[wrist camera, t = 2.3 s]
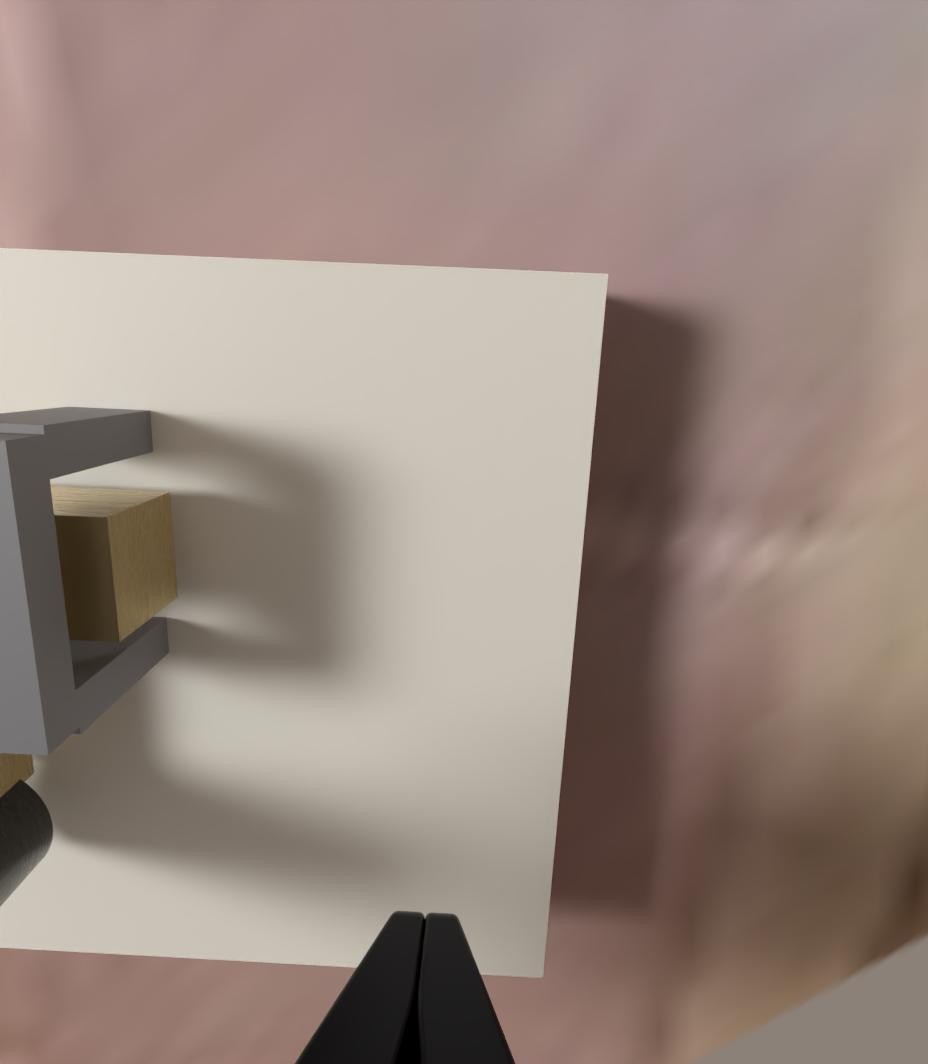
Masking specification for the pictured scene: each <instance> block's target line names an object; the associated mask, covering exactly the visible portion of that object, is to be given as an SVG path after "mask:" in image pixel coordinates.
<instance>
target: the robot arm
mask: <svg viewBox="0 0 928 1064" xmlns="http://www.w3.org/2000/svg"><path fill="white" fill-rule="evenodd" d="M295 1064H515V1062H514V1059H513V1057H512V1054H511V1051H510V1049H509V1046H508V1044H507V1041H506V1039H505V1036H504V1033H503V1031H502V1028H501V1026H500V1023H499V1021H498V1018H497V1016H496V1013H495V1010H494V1008H493V1005H492V1003H491V1000H490V998H489V995H488V992H487V990H486V987H485V985H484V982H483V980H482V977H481V974H480V972H479V969H478V967H477V964H476V962H475V959H474V956H473V954H472V951H471V949H470V946H469V944H468V941H467V939H466V936H465V933H464V931H463V928H462V926H461V923H460V921H459V919H458V917H457V916H456V915H455V914H449V913H432V912H431V913H428V914H427V915H426V917H424V914H423V913H421V912H413V911H395V912H394V913H393V914H392V915H391V916H390V917H389V919H388V920H387V922H386V923H385V925H384V927H383V928H382V930H381V931H380V933H379V934H378V936H377V937H376V939H375V940H374V942H373V944H372V945H371V947H370V948H369V950H368V951H367V953H366V954H365V956H364V957H363V959H362V961H361V962H360V964H359V965H358V967H357V968H356V970H355V971H354V973H353V974H352V976H351V978H350V979H349V981H348V982H347V984H346V985H345V987H344V988H343V990H342V991H341V993H340V995H339V996H338V998H337V999H336V1001H335V1002H334V1004H333V1005H332V1007H331V1008H330V1010H329V1012H328V1013H327V1015H326V1016H325V1018H324V1019H323V1021H322V1022H321V1024H320V1025H319V1027H318V1029H317V1030H316V1032H315V1033H314V1035H313V1036H312V1038H311V1039H310V1041H309V1042H308V1044H307V1046H306V1047H305V1049H304V1050H303V1052H302V1053H301V1055H300V1056H299V1058H298V1059H297V1061H296V1063H295Z"/></svg>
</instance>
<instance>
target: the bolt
mask: <svg viewBox="0 0 928 1064" xmlns="http://www.w3.org/2000/svg"><path fill="white" fill-rule="evenodd" d="M51 493H52V502H53V510H54V518H55V526H56V535H57V543H58V551H59V559H60V568H61V576H62V584H63V593H64V601H65V609H66V617H67V626H68V634H69V640H87V641H107V642H121V641H122V640H123V639H124V638H126V637H127V636H128V635H130V634H131V633H132V632H134V631H135V630H136V629H137V628H139V627H140V626H141V625H143V624H144V623H145V622H147V621H148V620H149V619H150V618H152V617H153V616H154V615H156V614H157V613H158V612H159V611H161V610H162V609H163V608H165V607H166V606H167V605H169V604H170V603H171V602H172V601H174V600H175V599H176V598H178V592H177V579H176V565H175V552H174V538H173V524H172V511H171V497H170V492H164V491H143V490H122V489H101V488H79V487H58V486H51ZM33 774H34V766H33V759H32V755H28V754H9V753H0V907H1V905H2V904H3V903H4V902H5V901H6V900H7V899H8V898H9V896H10V895H11V894H12V893H13V892H14V891H15V890H16V888H17V887H18V886H19V885H20V884H21V883H22V882H23V881H24V879H25V878H26V877H27V876H28V875H29V874H30V873H31V872H32V870H33V869H34V868H35V867H36V866H37V865H38V864H39V862H40V861H41V860H42V859H43V858H44V857H45V855H46V854H47V852H48V850H49V848H50V846H51V843H52V839H53V824H52V820H51V816H50V813H49V811H48V809H47V807H46V805H45V803H44V802H43V800H42V799H41V797H40V796H39V795H38V794H37V793H36V792H35V790H33V789H32V788H31V787H30V786H29V785H28V784H27V783H25V781H26V780H27V779H28V778H29V777H31V776H32V775H33Z"/></svg>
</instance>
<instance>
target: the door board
mask: <svg viewBox="0 0 928 1064" xmlns="http://www.w3.org/2000/svg"><path fill="white" fill-rule="evenodd" d="M607 282H608V274H598V273H575V272H551V271H528V270H504V269H481V268H457V267H434V266H410V265H386V264H363V263H339V262H316V261H292V260H269V259H245V258H222V257H198V256H175V255H151V254H128V253H104V252H81V251H57V250H33V249H10V248H0V753H9V754H28V755H32V759H33V766H34V774H33V775H32V776H31V777H29V778H28V779H27V780H26V781H25V783H27V784H28V785H29V786H30V787H31V788H32V789H33V790H35V792H36V793H37V794H38V795H39V796H40V797H41V799H42V800H43V802H44V803H45V805H46V807H47V809H48V811H49V813H50V816H51V820H52V824H53V839H52V843H51V846H50V848H49V850H48V852H47V854H46V855H45V857H44V858H43V859H42V860H41V861H40V862H39V864H38V865H37V866H36V867H35V868H34V869H33V870H32V872H31V873H30V874H29V875H28V876H27V877H26V878H25V879H24V881H23V882H22V883H21V884H20V885H19V886H18V887H17V888H16V890H15V891H14V892H13V893H12V894H11V895H10V896H9V898H8V899H7V900H6V901H5V902H4V903H3V904H2V905H1V907H0V948H17V949H35V950H53V951H71V952H89V953H107V954H125V955H142V956H160V957H178V958H196V959H214V960H232V961H250V962H268V963H285V964H303V965H321V966H339V967H358V965H359V964H360V962H361V961H362V959H363V957H364V956H365V954H366V953H367V951H368V950H369V948H370V947H371V945H372V944H373V942H374V940H375V939H376V937H377V936H378V934H379V933H380V931H381V930H382V928H383V927H384V925H385V923H386V922H387V920H388V919H389V917H390V916H391V915H392V914H393V913H394V912H395V911H413V912H421V913H423V914H424V917H426V915H427V914H428V913H431V912H432V913H449V914H455V915H456V916H457V917H458V919H459V921H460V923H461V926H462V928H463V931H464V933H465V936H466V939H467V941H468V944H469V946H470V949H471V951H472V954H473V956H474V959H475V962H476V964H477V967H478V969H479V972H480V974H482V975H500V976H518V977H536V978H543V970H544V959H545V948H546V937H547V927H548V916H549V905H550V894H551V884H552V873H553V862H554V851H555V841H556V830H557V819H558V808H559V798H560V787H561V776H562V765H563V755H564V744H565V733H566V723H567V712H568V701H569V690H570V680H571V669H572V658H573V647H574V637H575V626H576V615H577V604H578V594H579V583H580V572H581V561H582V551H583V540H584V529H585V518H586V508H587V497H588V486H589V476H590V465H591V454H592V443H593V433H594V422H595V411H596V400H597V390H598V379H599V368H600V357H601V347H602V336H603V325H604V314H605V304H606V293H607ZM51 486H58V487H79V488H101V489H122V490H143V491H164V492H170V497H171V511H172V524H173V538H174V552H175V565H176V579H177V592H178V598H176V599H175V600H174V601H172V602H171V603H170V604H169V605H167V606H166V607H165V608H163V609H162V610H161V611H159V612H158V613H157V614H156V615H154V616H153V617H152V618H150V619H149V620H148V621H147V622H145V623H144V624H143V625H141V626H140V627H139V628H137V629H136V630H135V631H134V632H132V633H131V634H130V635H128V636H127V637H126V638H124V639H123V640H122V641H121V642H107V641H87V640H69V634H68V626H67V617H66V609H65V601H64V593H63V584H62V576H61V568H60V559H59V551H58V543H57V535H56V526H55V518H54V510H53V502H52V493H51Z"/></svg>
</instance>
